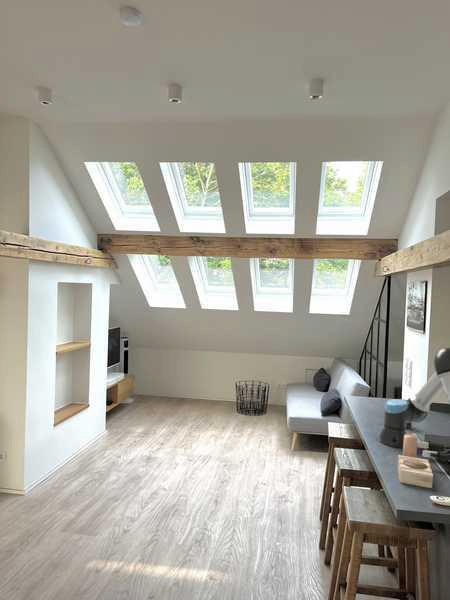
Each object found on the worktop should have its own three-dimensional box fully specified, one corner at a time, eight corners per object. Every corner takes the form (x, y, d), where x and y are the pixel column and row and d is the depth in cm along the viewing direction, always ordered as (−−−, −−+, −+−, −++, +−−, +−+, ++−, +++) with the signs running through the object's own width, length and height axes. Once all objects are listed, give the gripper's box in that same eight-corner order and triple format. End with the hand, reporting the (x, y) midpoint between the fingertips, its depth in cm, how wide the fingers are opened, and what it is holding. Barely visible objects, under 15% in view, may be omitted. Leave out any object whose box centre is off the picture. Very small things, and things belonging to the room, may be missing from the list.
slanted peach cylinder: (407, 456, 236) (409, 433, 236) (418, 461, 231) (420, 437, 230) (399, 458, 233) (401, 434, 232) (410, 463, 227) (412, 438, 227)
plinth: (397, 466, 221) (398, 454, 221) (427, 471, 217) (428, 458, 217) (399, 482, 202) (400, 468, 202) (431, 488, 198) (433, 474, 198)
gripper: (473, 470, 215) (425, 465, 218) (454, 452, 240) (411, 447, 243) (474, 454, 215) (426, 449, 218) (455, 438, 240) (412, 433, 242)
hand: (418, 448), depth 230 cm, fingers open, 13 cm apart
